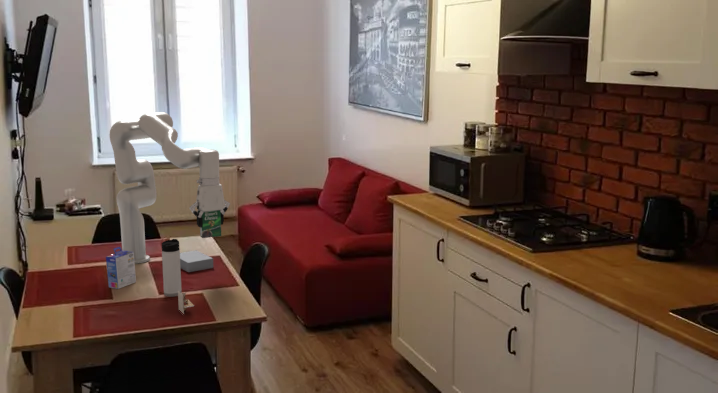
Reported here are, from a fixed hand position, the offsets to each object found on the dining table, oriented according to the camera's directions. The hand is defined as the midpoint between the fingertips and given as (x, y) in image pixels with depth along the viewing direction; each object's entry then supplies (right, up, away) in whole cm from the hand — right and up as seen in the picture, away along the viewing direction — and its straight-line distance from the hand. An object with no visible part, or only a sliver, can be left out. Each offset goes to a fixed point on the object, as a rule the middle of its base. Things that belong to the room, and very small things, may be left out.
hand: (210, 225), depth 285 cm
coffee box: (0, -5, +1) cm, 5 cm away
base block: (-11, -17, +17) cm, 27 cm away
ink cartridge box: (-32, -23, -8) cm, 40 cm away
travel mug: (-10, -25, -19) cm, 33 cm away
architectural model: (-1, -29, -37) cm, 47 cm away
